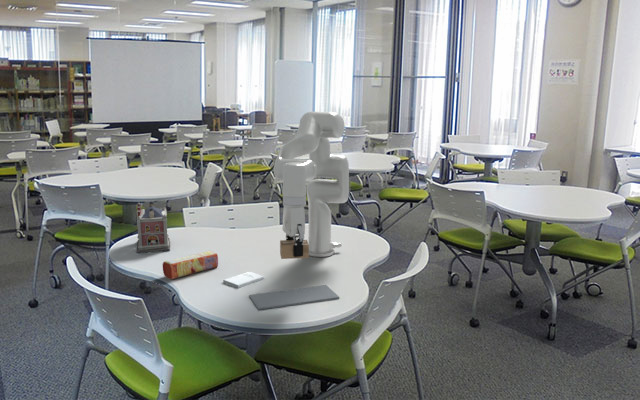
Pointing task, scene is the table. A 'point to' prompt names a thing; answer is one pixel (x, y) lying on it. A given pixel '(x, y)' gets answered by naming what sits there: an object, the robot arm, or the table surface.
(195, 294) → the table surface
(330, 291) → the mat
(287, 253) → the card box
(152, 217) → the model building
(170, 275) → the snack package
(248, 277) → the external hard drive
